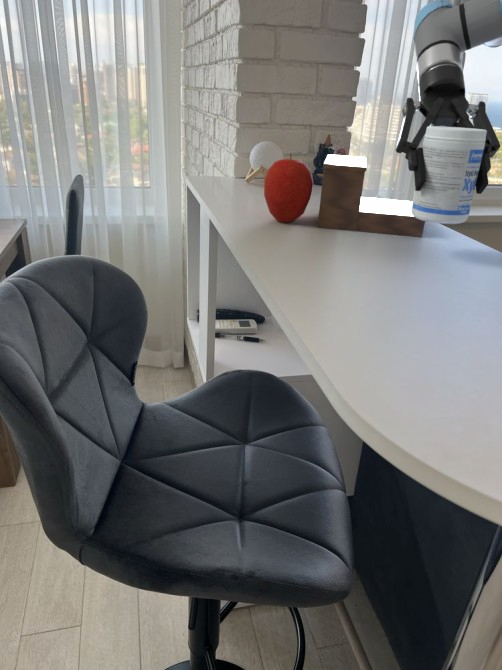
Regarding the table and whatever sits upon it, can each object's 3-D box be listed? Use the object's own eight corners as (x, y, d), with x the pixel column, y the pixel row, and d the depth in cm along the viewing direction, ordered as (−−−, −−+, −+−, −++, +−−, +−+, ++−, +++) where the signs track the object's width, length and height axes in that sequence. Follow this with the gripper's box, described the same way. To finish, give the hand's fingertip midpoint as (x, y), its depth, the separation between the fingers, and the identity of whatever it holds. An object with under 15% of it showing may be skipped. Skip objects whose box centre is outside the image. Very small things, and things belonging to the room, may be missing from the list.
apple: (314, 227, 104) (321, 156, 98) (266, 226, 103) (271, 154, 97) (303, 215, 113) (309, 150, 107) (259, 214, 112) (262, 148, 106)
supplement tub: (469, 228, 82) (491, 131, 76) (409, 221, 85) (426, 127, 78) (465, 216, 91) (485, 128, 84) (410, 210, 93) (426, 124, 87)
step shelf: (414, 219, 116) (425, 161, 110) (421, 237, 101) (435, 172, 96) (321, 210, 119) (327, 154, 113) (316, 227, 104) (323, 163, 99)
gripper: (492, 99, 93) (507, 203, 86) (373, 93, 93) (378, 197, 86) (513, 65, 86) (531, 176, 79) (384, 59, 86) (390, 169, 79)
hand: (451, 187), depth 82 cm, fingers closed on supplement tub, 9 cm apart
